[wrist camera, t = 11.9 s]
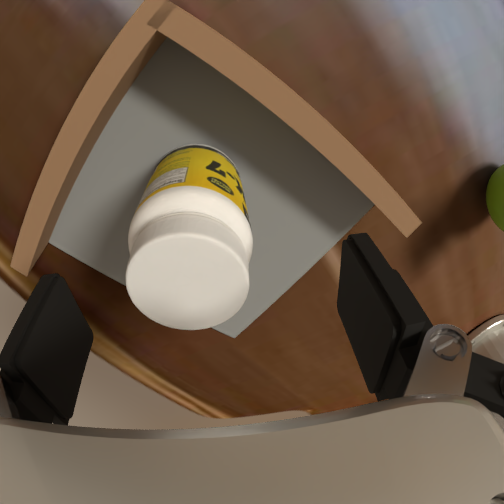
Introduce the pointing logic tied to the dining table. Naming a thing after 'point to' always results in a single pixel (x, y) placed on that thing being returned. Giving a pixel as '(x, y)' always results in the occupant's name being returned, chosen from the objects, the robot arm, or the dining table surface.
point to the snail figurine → (496, 197)
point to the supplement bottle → (190, 241)
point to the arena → (208, 133)
